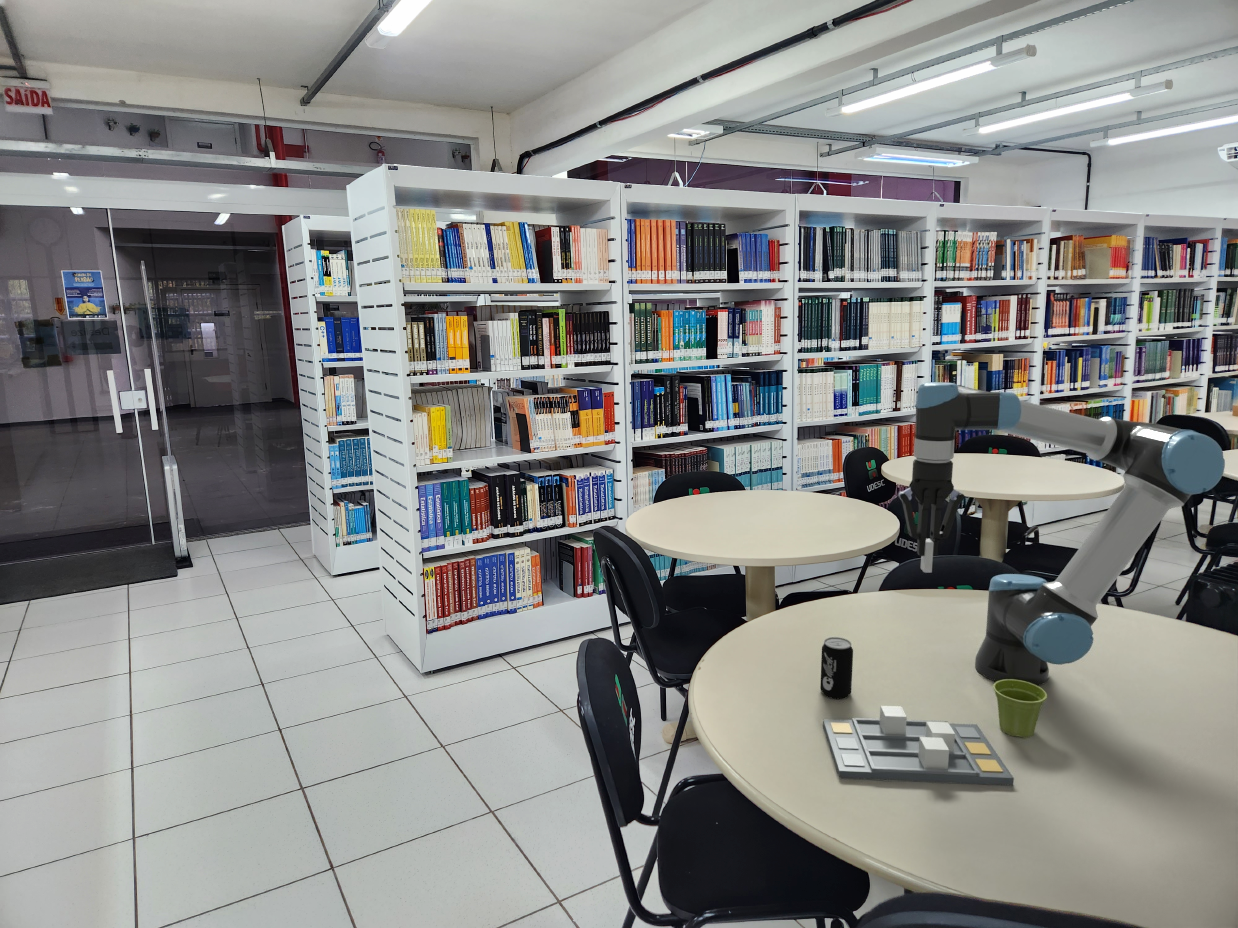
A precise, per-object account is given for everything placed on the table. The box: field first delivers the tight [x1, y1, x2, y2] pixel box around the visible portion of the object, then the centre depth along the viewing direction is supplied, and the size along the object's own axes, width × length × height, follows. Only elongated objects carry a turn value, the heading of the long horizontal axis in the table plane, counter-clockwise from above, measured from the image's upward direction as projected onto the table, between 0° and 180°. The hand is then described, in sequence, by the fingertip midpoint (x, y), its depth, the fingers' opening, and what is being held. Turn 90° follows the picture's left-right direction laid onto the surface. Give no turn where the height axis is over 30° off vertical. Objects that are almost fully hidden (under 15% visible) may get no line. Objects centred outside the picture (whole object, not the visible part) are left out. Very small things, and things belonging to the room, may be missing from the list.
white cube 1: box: [879, 705, 908, 735], centre depth 150 cm, size 4×4×4 cm
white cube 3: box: [918, 737, 949, 770], centre depth 139 cm, size 4×4×4 cm
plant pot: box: [992, 679, 1048, 739], centre depth 152 cm, size 9×9×9 cm
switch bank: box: [822, 717, 1015, 787], centre depth 145 cm, size 30×18×2 cm, turn 84°
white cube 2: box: [925, 721, 955, 752], centre depth 144 cm, size 4×4×4 cm
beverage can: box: [820, 636, 854, 700], centre depth 167 cm, size 7×7×12 cm
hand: (926, 570), depth 159 cm, fingers closed
